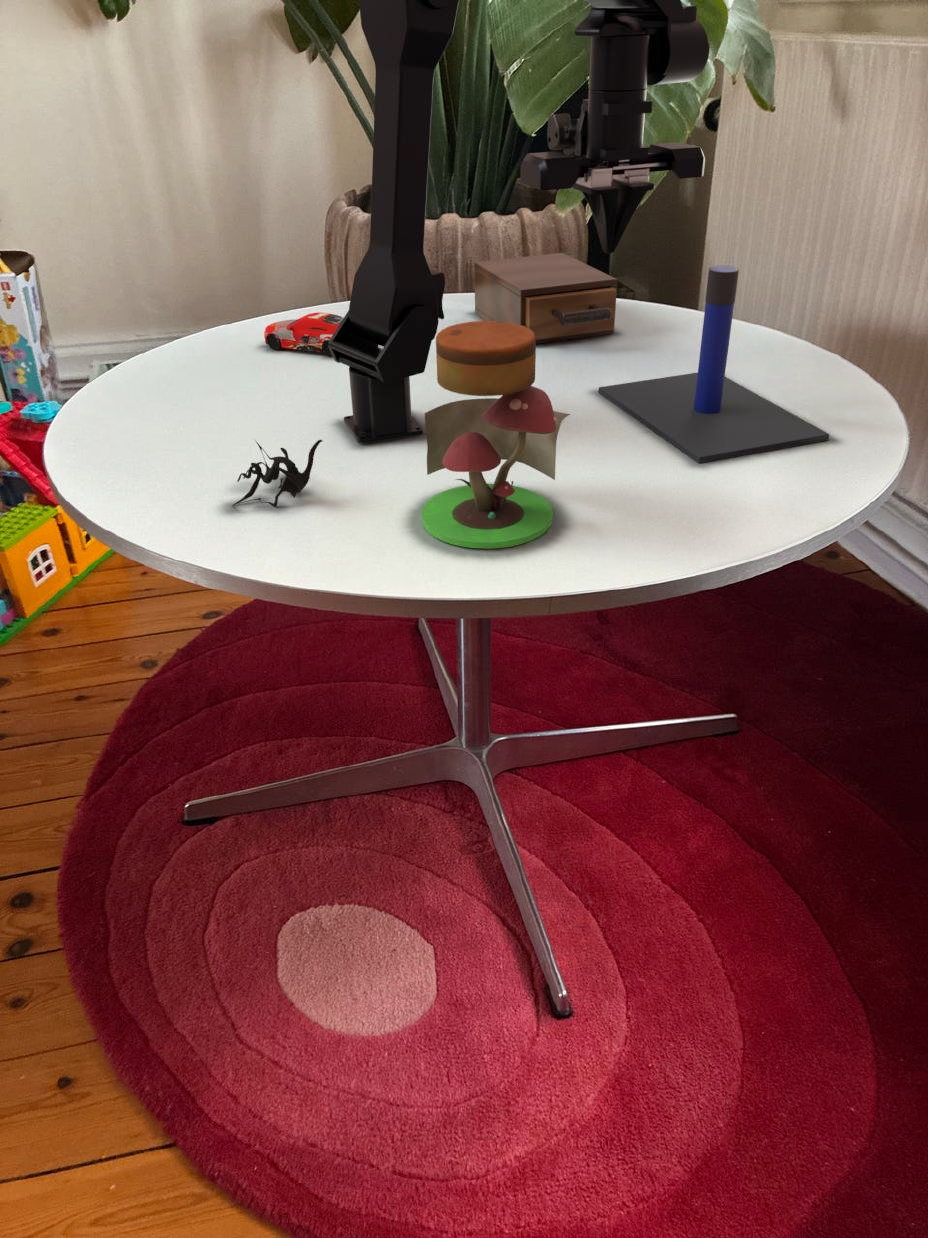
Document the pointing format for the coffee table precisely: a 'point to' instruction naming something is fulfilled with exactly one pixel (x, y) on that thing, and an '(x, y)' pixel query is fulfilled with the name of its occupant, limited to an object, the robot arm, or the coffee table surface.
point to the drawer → (571, 312)
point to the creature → (293, 476)
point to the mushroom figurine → (489, 436)
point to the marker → (715, 337)
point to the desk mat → (711, 418)
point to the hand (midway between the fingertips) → (608, 252)
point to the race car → (303, 333)
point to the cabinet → (531, 286)
